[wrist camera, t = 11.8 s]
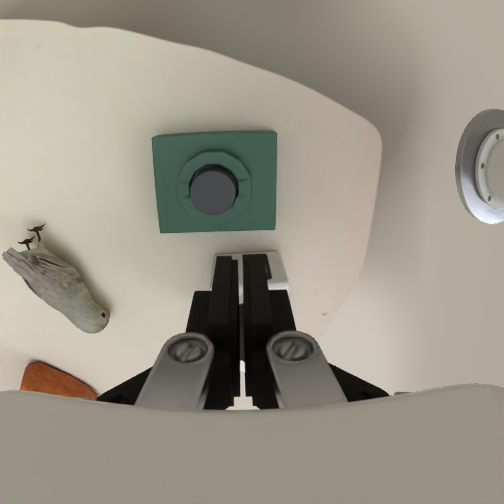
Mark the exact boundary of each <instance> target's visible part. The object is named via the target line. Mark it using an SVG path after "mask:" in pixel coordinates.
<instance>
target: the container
mask: <svg viewBox="0 0 504 504" xmlns="http://www.w3.org/2000/svg"><path fill="white" fill-rule="evenodd" d="M249 255H264V261H265V268H266V275H267V282H268V289H269V290H280V289H286V290H287V292H288V296H289V300H290V283H289V280H288V277H287V273H286V270H285V267H284V264H283V260H282V257H281V254H280V252H279V251H271V252H253V253H235V254H218V255H215V256H214V260H213V268H212V277H211V286H210V291H211V290H212V283H213V276H214V270H215V263H216V257H217V256H232V260H233V259H238V278H239V308H240V372H244V373H245V361H244V327H243V259H249Z"/></svg>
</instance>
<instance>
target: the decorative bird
mask: <svg viewBox="0 0 504 504" xmlns="http://www.w3.org/2000/svg"><path fill="white" fill-rule="evenodd" d="M44 225H45V224H44ZM44 225H43V226H44ZM43 226H40V227H34V228H33V229H31V230H29V229H27V230H29V231H34V232H36V234H37V236H38V245H39V247H37V248H34V249H31V250H30V247H29V244H28V243H31V242H33V241H31V240H32V239H33V238H34V237H35V236H34V237H33V238H31V239H26V240H24V241H23V242H18V243H20V244H26V246H27V248H28V250H27V251H23V252H20V253H19V252H17V251H16V250H14V249H13V248H10V249H8V251H7V252H4V253H3V254H2V256H3V259H4V260H5V261H6V262H7V263H8V264H9V265H10V266H11V267H12V268H13V270H14V271H15V272H16V273H18V274H19V275H20V276H22V278H23V279H24V281H25V283H26V284H27V286H28V287H29V288H30V289H31V290H32V291H33V292H34V293H35V294H36V295H37V296H38V297H40V298H41V299H43V300H44V301H45V302H46V303H47V304H48V305H50V306H51V307H53V308H55V309H56V310H58V311H60V312H61V313H62V314H64V315H65V316H66V317H67V318H68V319H69V320H70V321H71V322H72V323H73V324H74V325H75V326H76V327H78V328H79V329H80V330H82V331H84V332H86V333H98V332H100V331H101V330H103V329H104V328H105V327H106V326H107V324H108V322H109V318H110V312H109V311H107V310H106V309H103V308H101V307H100V306H99V305H98V304H96V303H95V302H94V301H93V300H92V299H91V295H90V293H89V291H88V289H87V288H86V286H85V284H84V282H83V280H82V277H81V275H80V274H79V272H78V271H77V270H76V269H75V268H74V267H73V266H71V265H70V264H68V263H67V262H65V261H64V260H62V259H59V258H58V257H56V256H55V255H53V254H52V253H51V252H49V251H47V250H46V249H45V247H44V246H43V244H42V242H41V241H40V240H41V238H40V235H39V232H38V231H41V230H42V229H43V228H42V227H43ZM40 228H42V229H40Z"/></svg>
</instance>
